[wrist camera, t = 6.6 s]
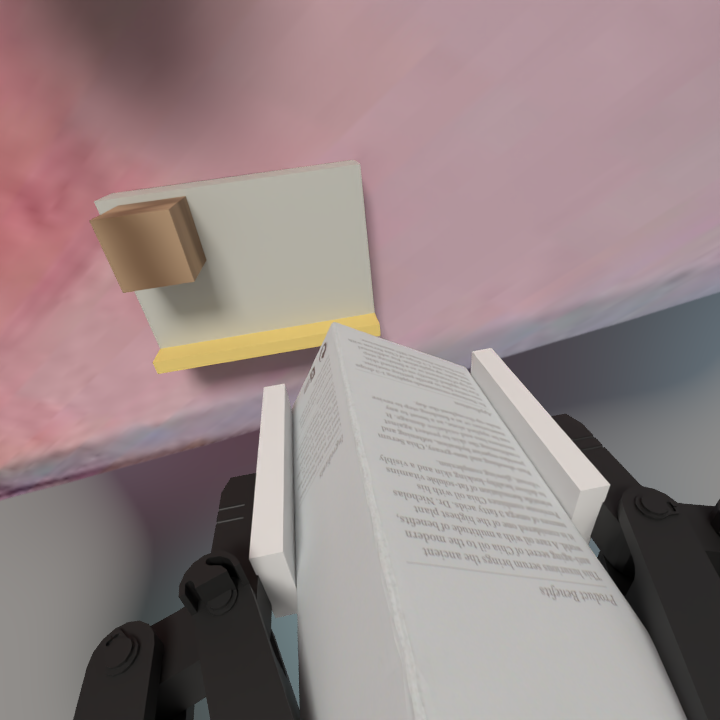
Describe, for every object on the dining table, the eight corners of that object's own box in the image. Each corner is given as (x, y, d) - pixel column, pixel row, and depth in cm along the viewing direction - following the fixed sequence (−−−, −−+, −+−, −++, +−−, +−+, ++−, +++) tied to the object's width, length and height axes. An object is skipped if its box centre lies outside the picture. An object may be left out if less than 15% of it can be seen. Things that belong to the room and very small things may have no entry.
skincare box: (288, 408, 16) (288, 949, 5) (331, 316, 14) (446, 875, 4) (419, 441, 18) (592, 878, 8) (470, 365, 16) (790, 809, 6)
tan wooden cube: (185, 195, 30) (168, 209, 26) (206, 260, 32) (194, 281, 28) (117, 205, 29) (89, 220, 25) (144, 269, 32) (123, 292, 28)
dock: (353, 159, 33) (365, 167, 28) (369, 309, 41) (380, 335, 36) (111, 193, 32) (79, 207, 27) (174, 341, 40) (158, 373, 35)
